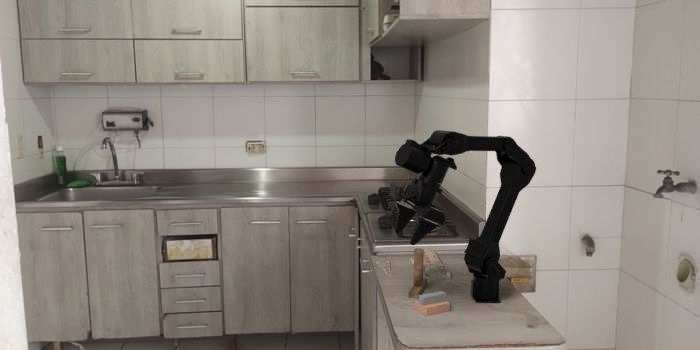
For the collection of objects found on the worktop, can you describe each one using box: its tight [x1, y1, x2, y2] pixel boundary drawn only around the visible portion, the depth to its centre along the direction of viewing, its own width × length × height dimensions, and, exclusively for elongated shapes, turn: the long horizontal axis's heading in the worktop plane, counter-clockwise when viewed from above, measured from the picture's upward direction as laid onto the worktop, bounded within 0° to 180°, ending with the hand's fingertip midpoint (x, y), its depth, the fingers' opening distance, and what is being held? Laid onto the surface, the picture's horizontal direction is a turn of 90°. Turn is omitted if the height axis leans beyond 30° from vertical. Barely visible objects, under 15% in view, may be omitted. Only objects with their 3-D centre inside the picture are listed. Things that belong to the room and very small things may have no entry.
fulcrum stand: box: [414, 290, 451, 317], centre depth 142 cm, size 7×5×4 cm
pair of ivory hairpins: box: [374, 261, 393, 279], centre depth 172 cm, size 18×5×2 cm, turn 7°
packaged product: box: [410, 248, 452, 280], centre depth 174 cm, size 18×5×10 cm
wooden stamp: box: [407, 247, 429, 300], centre depth 155 cm, size 3×12×12 cm, turn 160°
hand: (403, 238), depth 138 cm, fingers open, 9 cm apart
